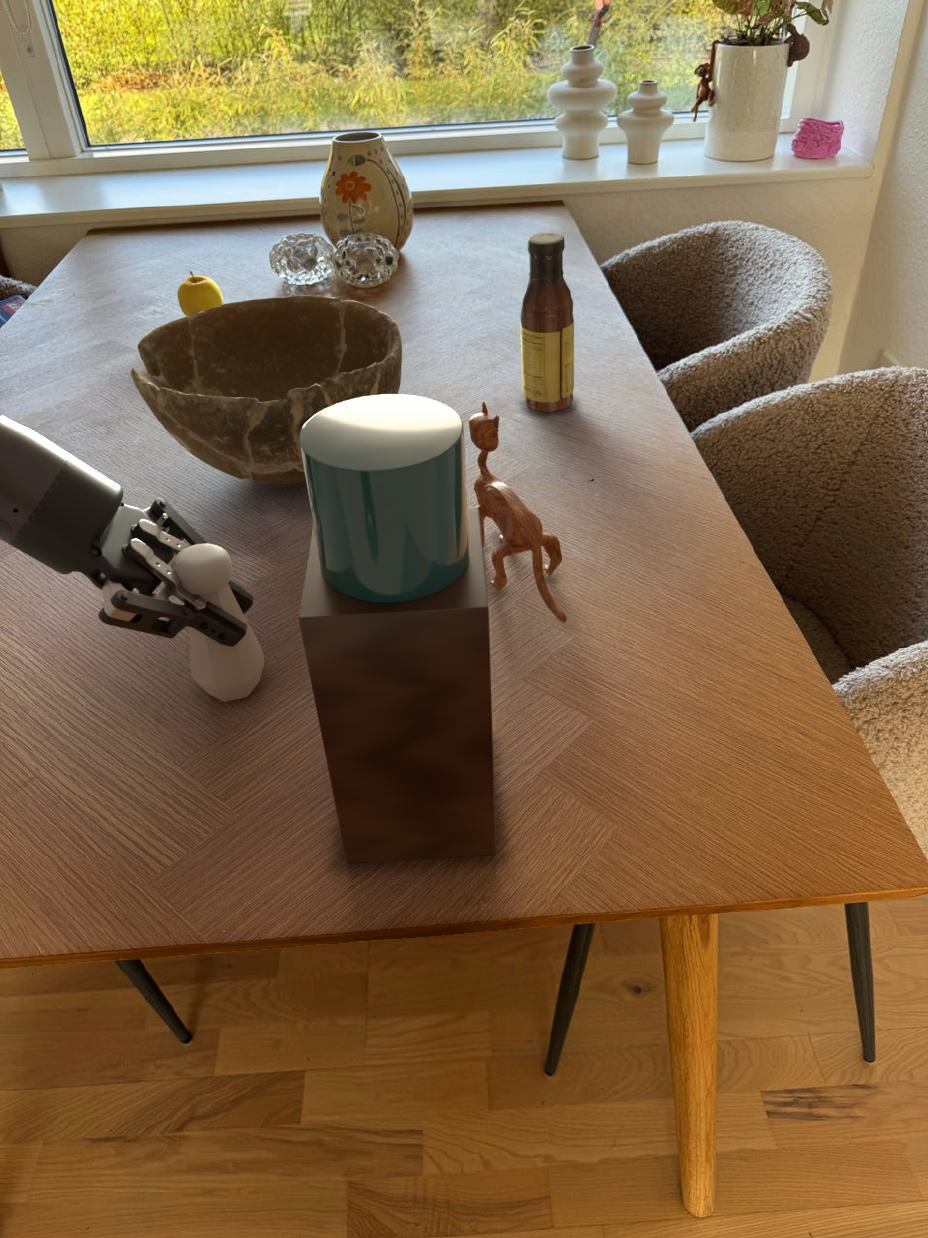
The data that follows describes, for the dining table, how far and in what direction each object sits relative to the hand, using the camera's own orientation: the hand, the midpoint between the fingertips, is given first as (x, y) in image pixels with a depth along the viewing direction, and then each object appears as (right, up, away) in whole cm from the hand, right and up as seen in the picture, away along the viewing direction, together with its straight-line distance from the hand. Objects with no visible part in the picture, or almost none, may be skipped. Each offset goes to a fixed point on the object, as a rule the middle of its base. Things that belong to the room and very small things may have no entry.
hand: (243, 621), depth 72 cm
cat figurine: (+22, +4, +14) cm, 27 cm away
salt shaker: (-2, -5, +4) cm, 7 cm away
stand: (+14, -13, -6) cm, 20 cm away
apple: (-21, +44, +66) cm, 82 cm away
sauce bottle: (+27, +26, +42) cm, 56 cm away
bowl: (-2, +17, +32) cm, 36 cm away
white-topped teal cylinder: (+13, +4, -18) cm, 23 cm away
